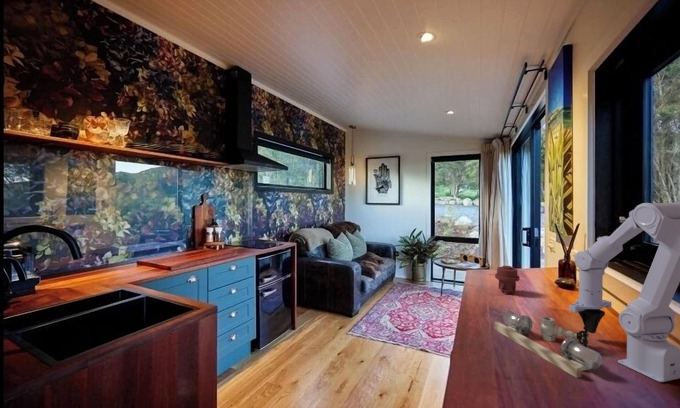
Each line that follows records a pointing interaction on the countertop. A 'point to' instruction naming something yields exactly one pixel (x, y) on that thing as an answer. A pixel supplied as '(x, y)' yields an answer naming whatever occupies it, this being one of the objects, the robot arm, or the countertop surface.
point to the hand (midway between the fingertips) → (590, 331)
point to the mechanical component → (507, 279)
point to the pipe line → (568, 347)
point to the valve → (560, 331)
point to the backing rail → (539, 350)
